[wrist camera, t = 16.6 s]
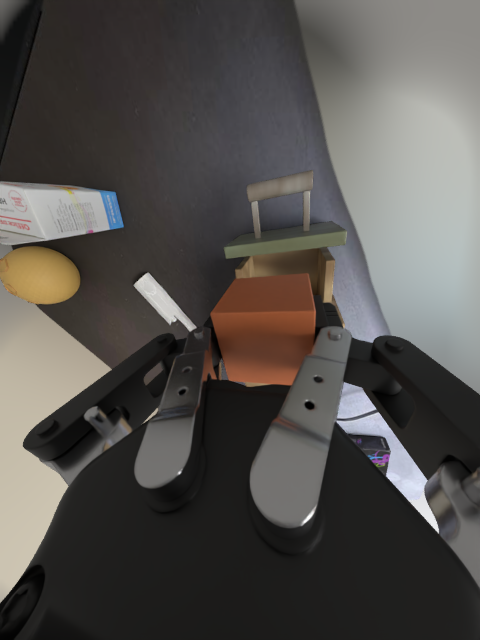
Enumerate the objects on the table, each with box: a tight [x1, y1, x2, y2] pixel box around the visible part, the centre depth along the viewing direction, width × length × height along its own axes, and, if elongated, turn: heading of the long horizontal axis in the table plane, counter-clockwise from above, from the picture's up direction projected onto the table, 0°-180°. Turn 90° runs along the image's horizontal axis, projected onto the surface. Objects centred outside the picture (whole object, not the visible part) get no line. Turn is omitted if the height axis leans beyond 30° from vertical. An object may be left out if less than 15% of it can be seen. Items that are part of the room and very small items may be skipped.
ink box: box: [0, 181, 124, 245], centre depth 23 cm, size 8×5×15 cm, turn 84°
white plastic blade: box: [134, 272, 197, 331], centre depth 37 cm, size 5×15×1 cm, turn 35°
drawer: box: [224, 170, 347, 303], centre depth 23 cm, size 20×11×8 cm, turn 10°
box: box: [349, 435, 391, 476], centre depth 48 cm, size 14×4×20 cm
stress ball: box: [0, 246, 80, 304], centre depth 33 cm, size 10×10×10 cm
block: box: [210, 273, 316, 385], centre depth 11 cm, size 5×5×5 cm
